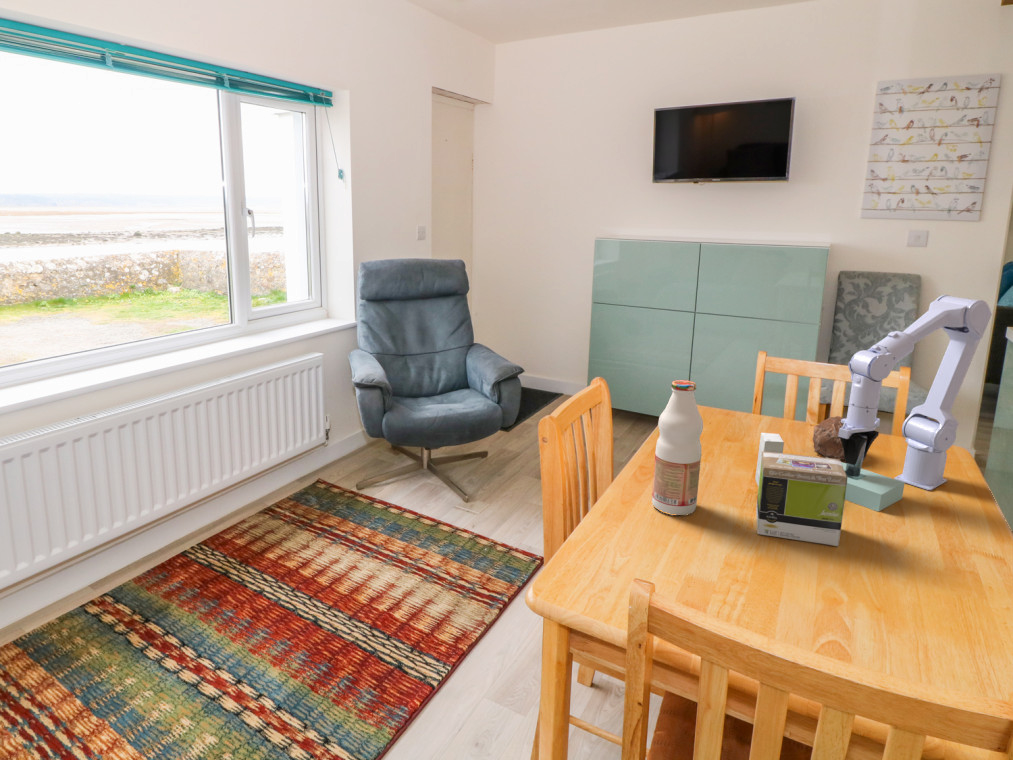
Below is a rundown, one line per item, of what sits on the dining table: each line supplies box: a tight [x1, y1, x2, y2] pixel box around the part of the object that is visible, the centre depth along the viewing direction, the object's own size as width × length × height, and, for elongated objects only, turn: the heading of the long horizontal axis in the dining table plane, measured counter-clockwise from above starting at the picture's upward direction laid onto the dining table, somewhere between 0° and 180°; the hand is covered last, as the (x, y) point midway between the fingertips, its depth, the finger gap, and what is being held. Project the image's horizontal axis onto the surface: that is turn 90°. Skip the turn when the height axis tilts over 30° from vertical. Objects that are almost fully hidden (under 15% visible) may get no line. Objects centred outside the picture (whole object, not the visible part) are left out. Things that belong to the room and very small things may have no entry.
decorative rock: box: [812, 415, 845, 461], centre depth 172 cm, size 13×11×10 cm
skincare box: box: [754, 432, 785, 487], centre depth 153 cm, size 6×4×12 cm
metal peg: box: [845, 433, 868, 477], centre depth 149 cm, size 3×3×10 cm
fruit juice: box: [651, 379, 704, 516], centre depth 139 cm, size 9×9×28 cm
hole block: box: [841, 461, 906, 512], centre depth 151 cm, size 11×18×4 cm, turn 36°
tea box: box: [756, 451, 848, 547], centre depth 131 cm, size 15×10×15 cm
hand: (854, 461), depth 150 cm, fingers closed on metal peg, 3 cm apart
